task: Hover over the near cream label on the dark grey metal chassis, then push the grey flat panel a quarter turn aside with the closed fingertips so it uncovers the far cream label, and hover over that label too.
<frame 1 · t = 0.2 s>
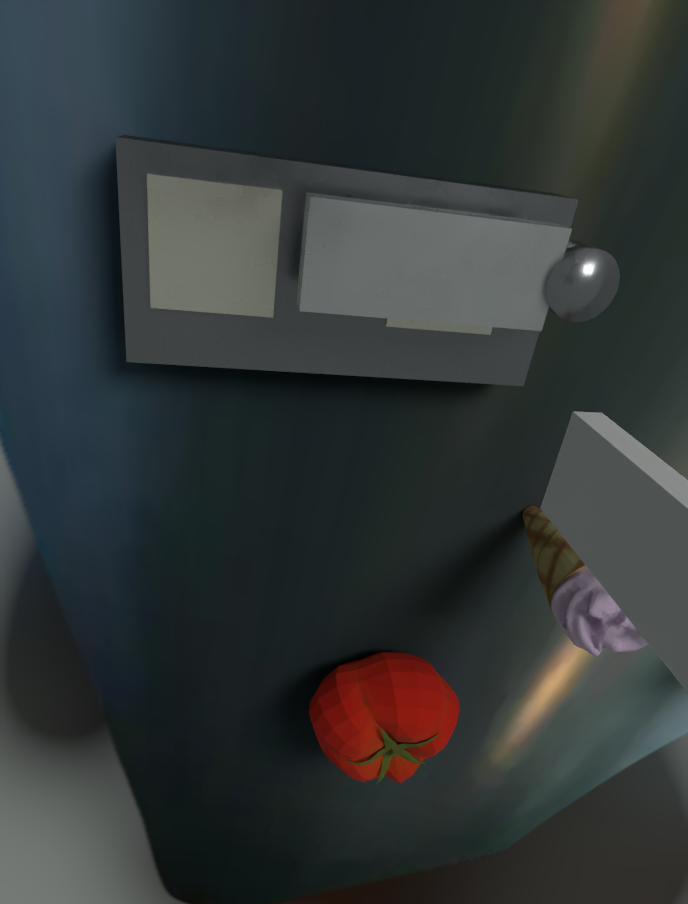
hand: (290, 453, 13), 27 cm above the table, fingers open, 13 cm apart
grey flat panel: (462, 269, 32), point 7 cm above the table, hinge at 0.0°
ice cream cone: (530, 514, 51), on the table
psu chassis: (343, 269, 38), on the table
tomato: (372, 678, 58), on the table
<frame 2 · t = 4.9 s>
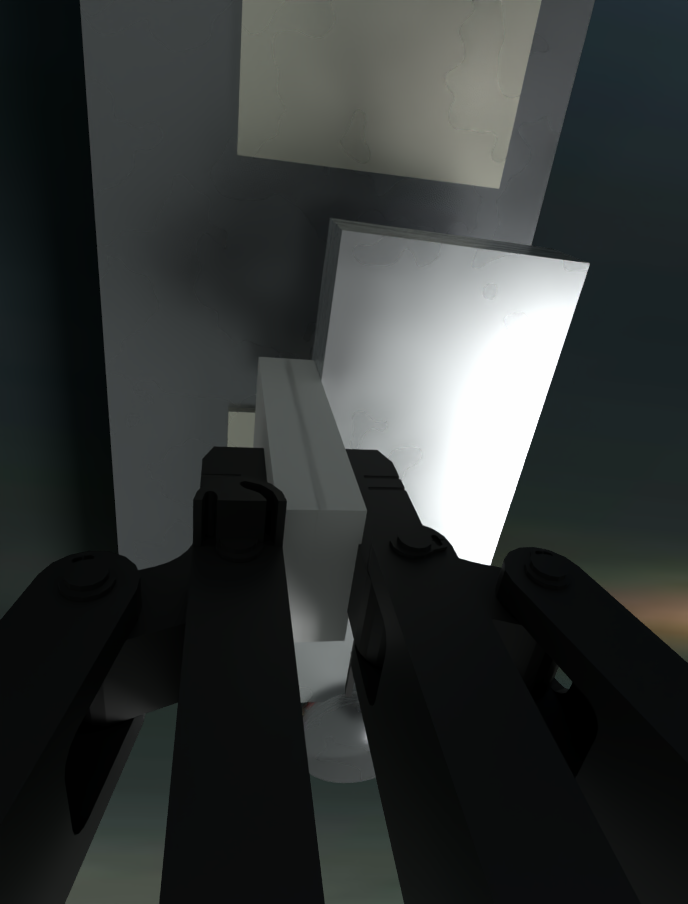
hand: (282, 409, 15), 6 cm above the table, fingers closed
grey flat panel: (388, 555, 17), point 7 cm above the table, hinge at -1.5°, touching gripper
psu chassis: (306, 307, 20), on the table
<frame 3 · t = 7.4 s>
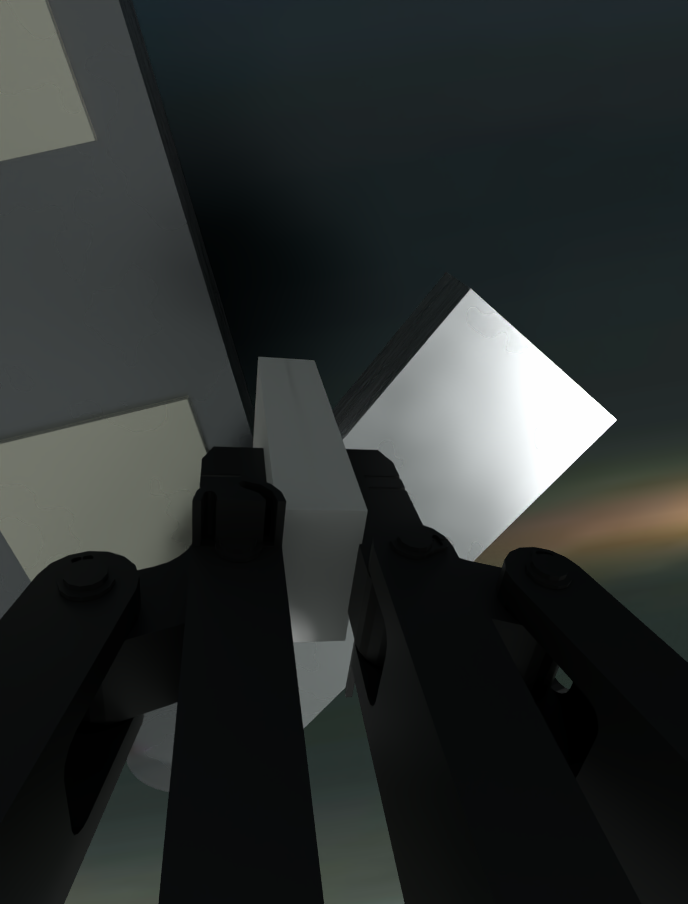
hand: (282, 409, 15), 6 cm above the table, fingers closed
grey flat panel: (323, 580, 17), point 7 cm above the table, hinge at -50.1°, touching gripper
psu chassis: (34, 323, 19), on the table
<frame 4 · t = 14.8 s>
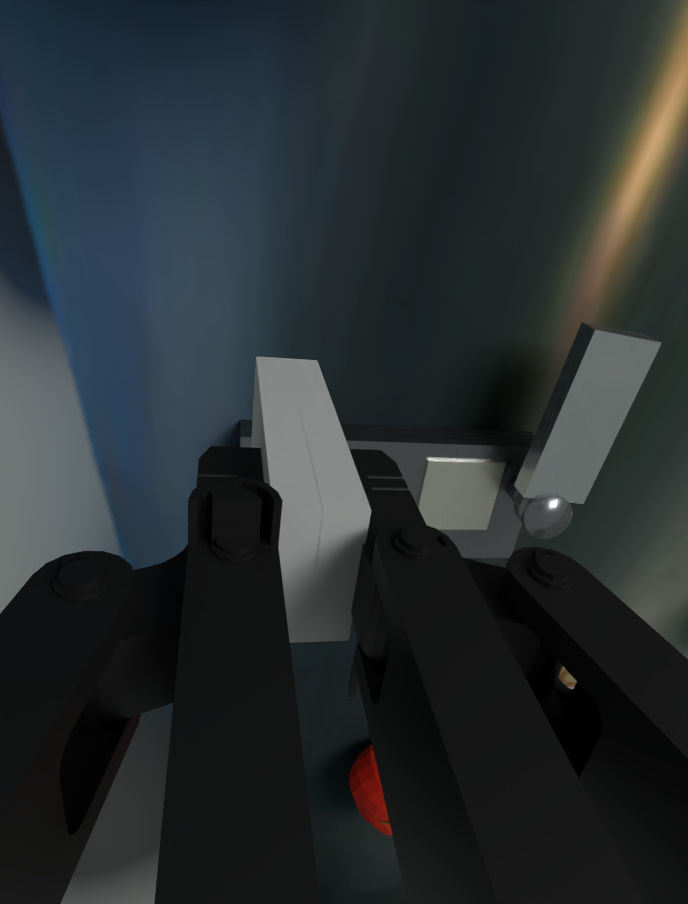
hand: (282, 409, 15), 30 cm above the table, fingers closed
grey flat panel: (574, 439, 46), point 7 cm above the table, hinge at -95.8°
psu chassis: (382, 485, 54), on the table
tomato: (396, 749, 74), on the table
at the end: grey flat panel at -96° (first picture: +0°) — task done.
